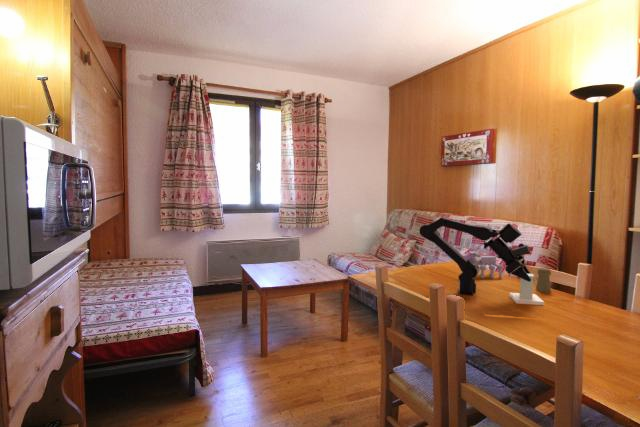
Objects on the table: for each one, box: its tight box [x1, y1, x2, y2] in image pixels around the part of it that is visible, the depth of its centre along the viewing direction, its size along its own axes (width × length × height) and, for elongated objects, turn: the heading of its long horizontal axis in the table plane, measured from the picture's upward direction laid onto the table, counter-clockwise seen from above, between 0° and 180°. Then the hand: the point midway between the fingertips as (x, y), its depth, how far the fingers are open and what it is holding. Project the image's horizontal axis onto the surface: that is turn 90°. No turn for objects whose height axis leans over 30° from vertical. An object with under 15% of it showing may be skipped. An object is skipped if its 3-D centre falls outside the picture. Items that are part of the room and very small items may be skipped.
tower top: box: [508, 292, 545, 306], centre depth 146 cm, size 10×10×2 cm
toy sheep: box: [462, 251, 504, 279], centre depth 186 cm, size 20×11×14 cm, turn 94°
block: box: [519, 273, 534, 299], centre depth 146 cm, size 4×4×10 cm
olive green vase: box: [535, 267, 552, 294], centre depth 158 cm, size 6×6×11 cm
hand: (530, 278), depth 144 cm, fingers open, 7 cm apart
